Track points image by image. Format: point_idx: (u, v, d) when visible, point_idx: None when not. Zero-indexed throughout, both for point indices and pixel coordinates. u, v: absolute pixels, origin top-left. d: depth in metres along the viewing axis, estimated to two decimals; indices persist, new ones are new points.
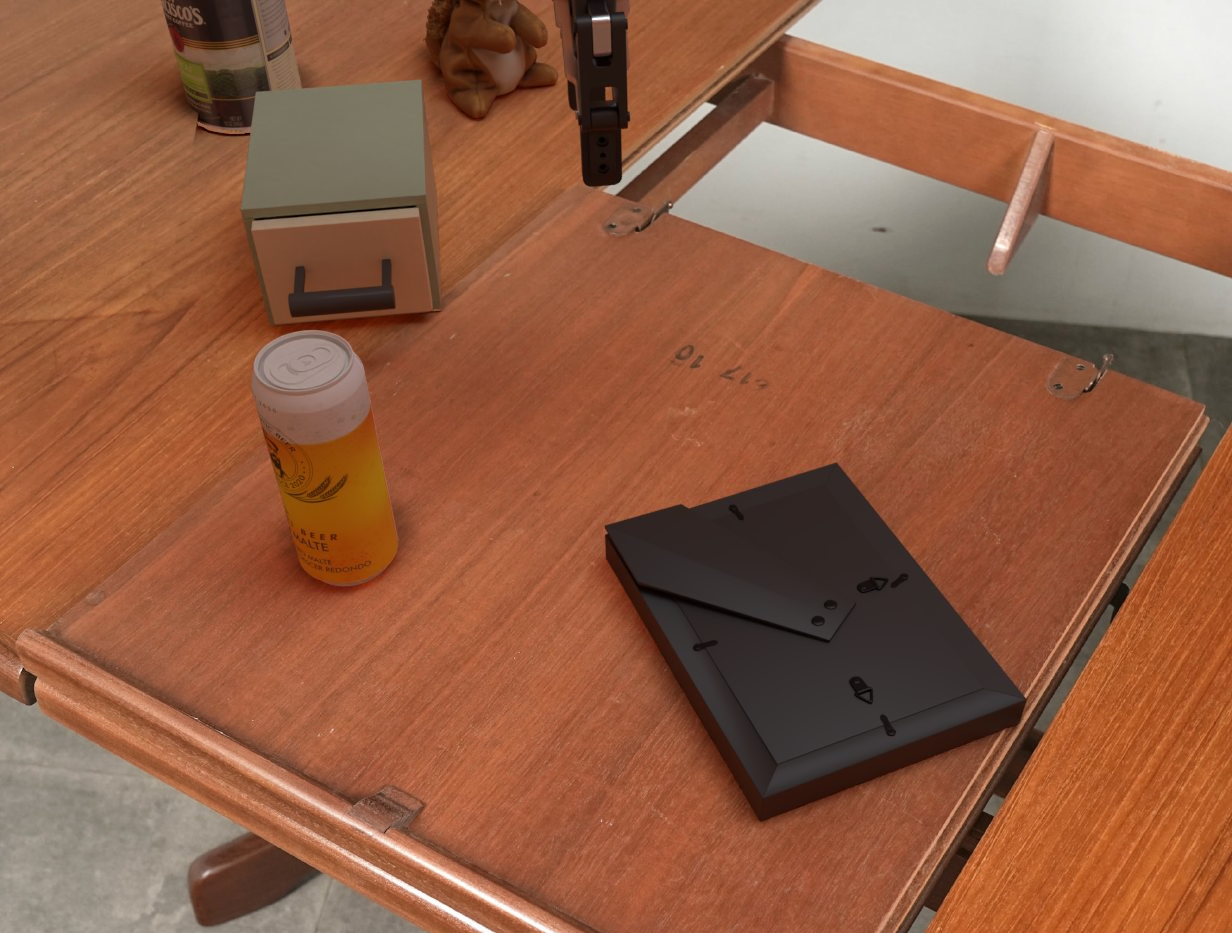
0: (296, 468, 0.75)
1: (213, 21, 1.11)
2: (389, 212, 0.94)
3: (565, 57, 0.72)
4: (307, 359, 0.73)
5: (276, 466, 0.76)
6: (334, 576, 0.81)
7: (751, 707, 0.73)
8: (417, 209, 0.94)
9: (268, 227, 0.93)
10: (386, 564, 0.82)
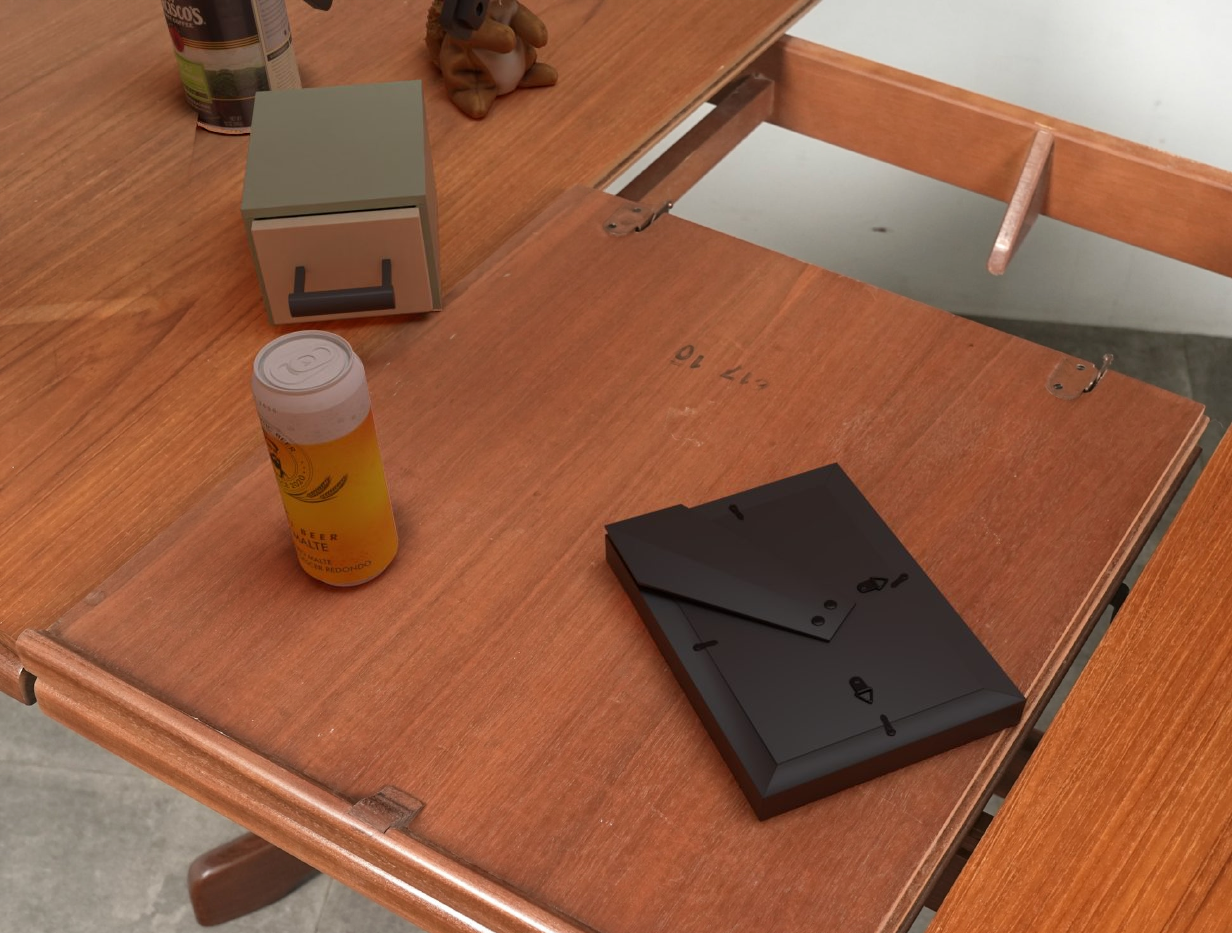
0: (296, 468, 0.75)
1: (213, 21, 1.11)
2: (389, 212, 0.94)
3: None
4: (307, 359, 0.73)
5: (276, 466, 0.76)
6: (334, 576, 0.81)
7: (751, 707, 0.73)
8: (417, 209, 0.94)
9: (268, 227, 0.93)
10: (386, 564, 0.82)
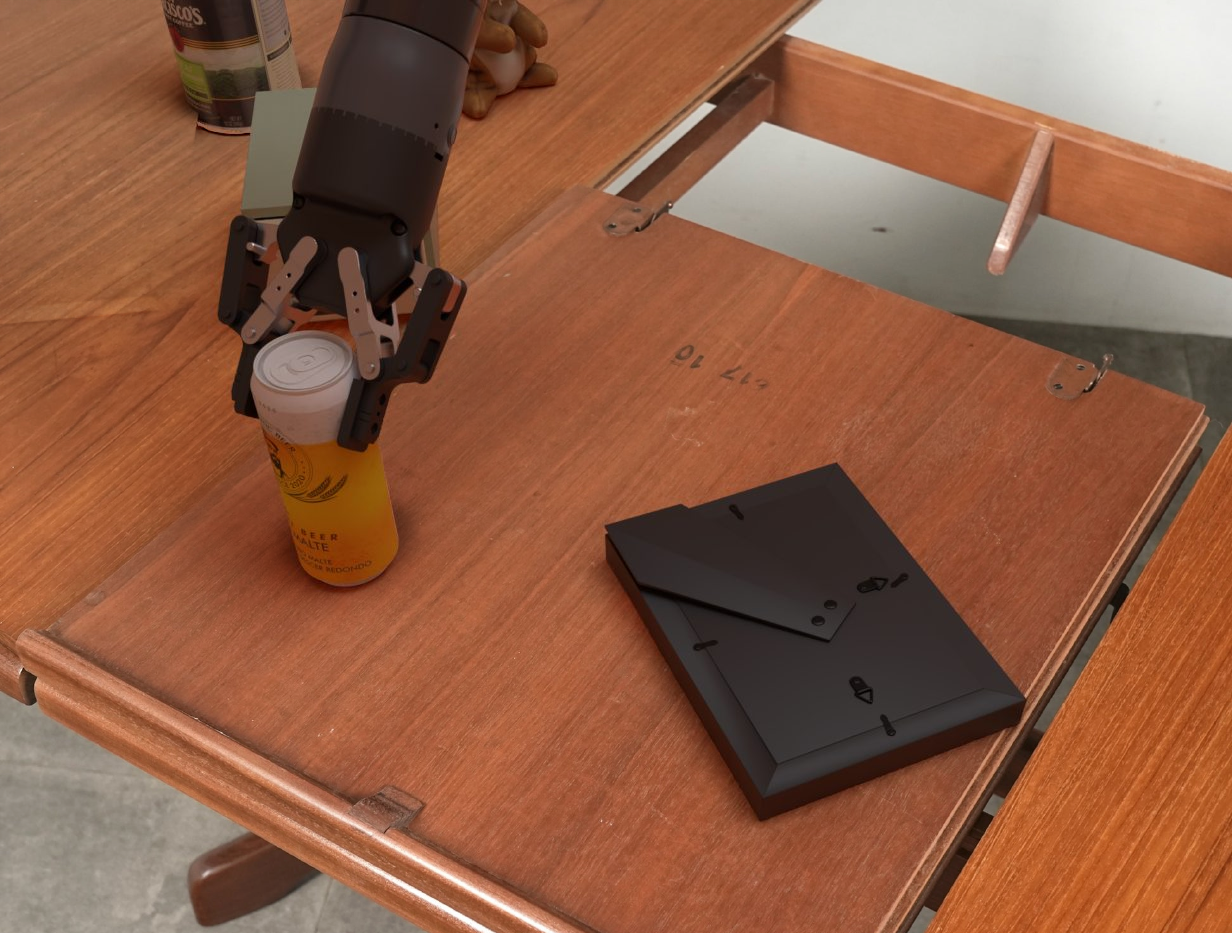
0: (296, 468, 0.75)
1: (213, 21, 1.11)
2: None
3: (367, 312, 0.71)
4: (307, 359, 0.73)
5: (276, 466, 0.76)
6: (334, 576, 0.81)
7: (751, 707, 0.73)
8: None
9: None
10: (386, 564, 0.82)
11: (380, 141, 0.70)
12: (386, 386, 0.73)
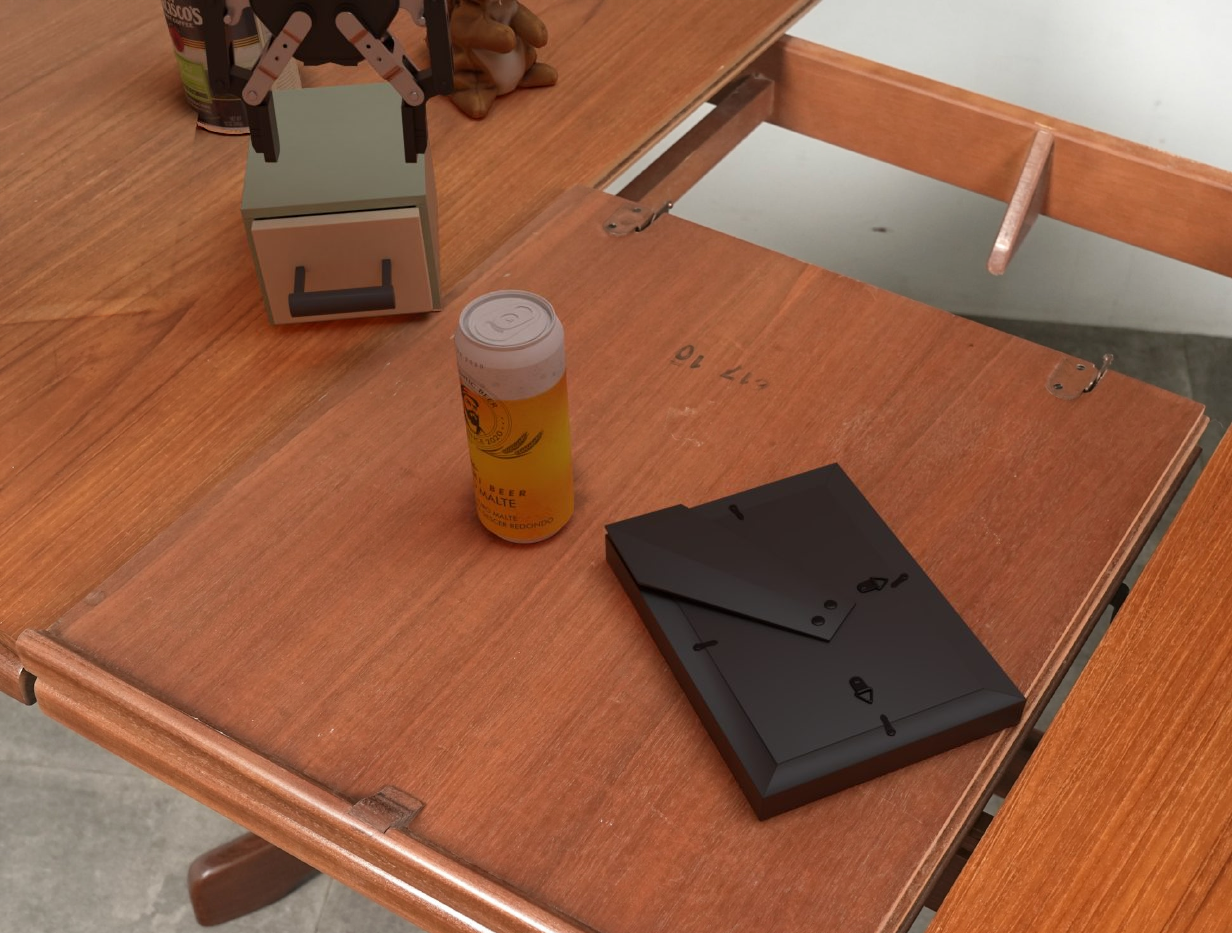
0: (495, 424, 0.77)
1: None
2: (389, 212, 0.94)
3: (389, 55, 0.79)
4: (511, 317, 0.75)
5: (473, 423, 0.78)
6: (517, 532, 0.83)
7: (751, 707, 0.73)
8: (417, 209, 0.94)
9: (268, 227, 0.93)
10: (565, 521, 0.84)
11: None
12: None
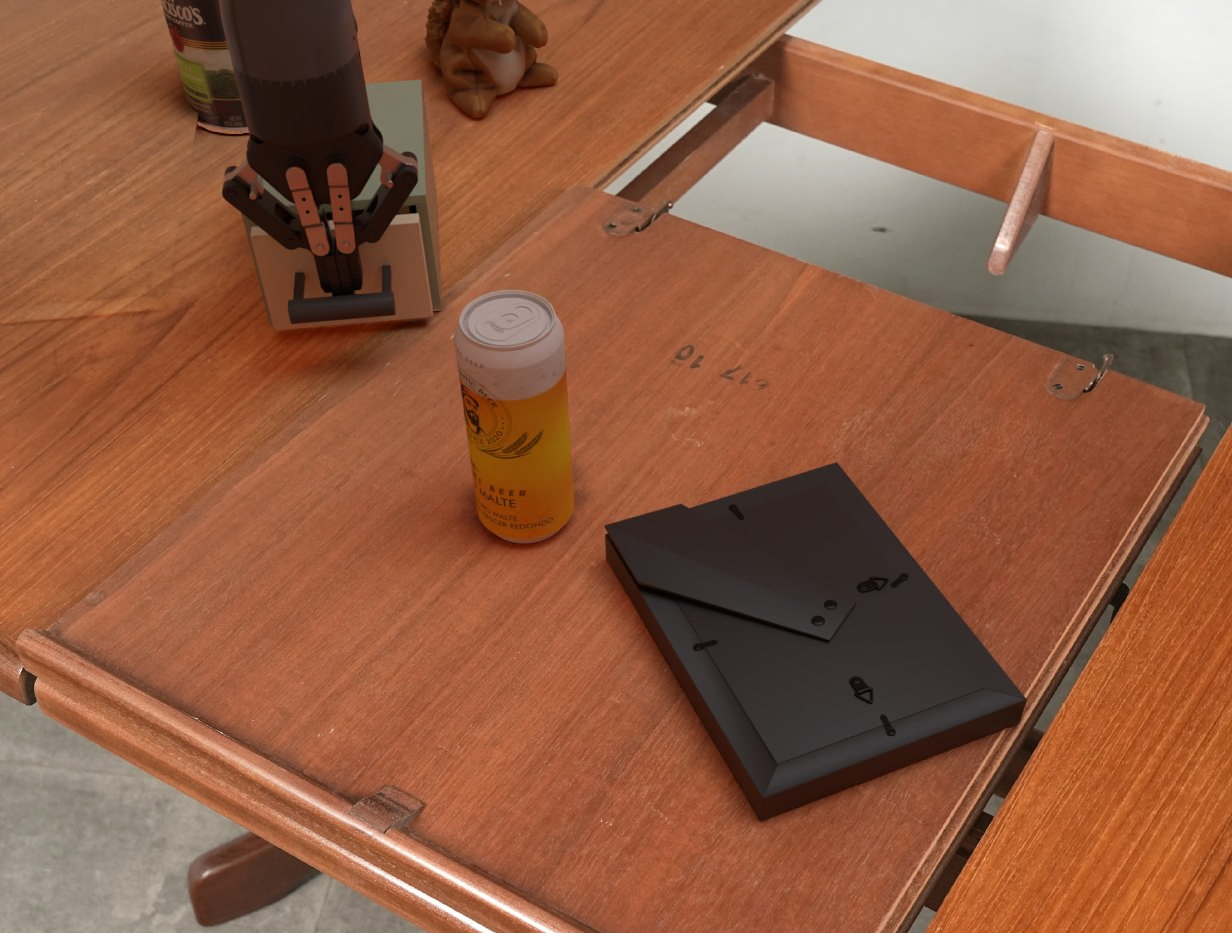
0: (495, 424, 0.77)
1: (213, 21, 1.11)
2: None
3: (350, 211, 0.88)
4: (511, 317, 0.75)
5: (473, 423, 0.78)
6: (517, 532, 0.83)
7: (751, 707, 0.73)
8: (417, 215, 0.94)
9: None
10: (565, 521, 0.84)
11: (331, 88, 0.80)
12: None
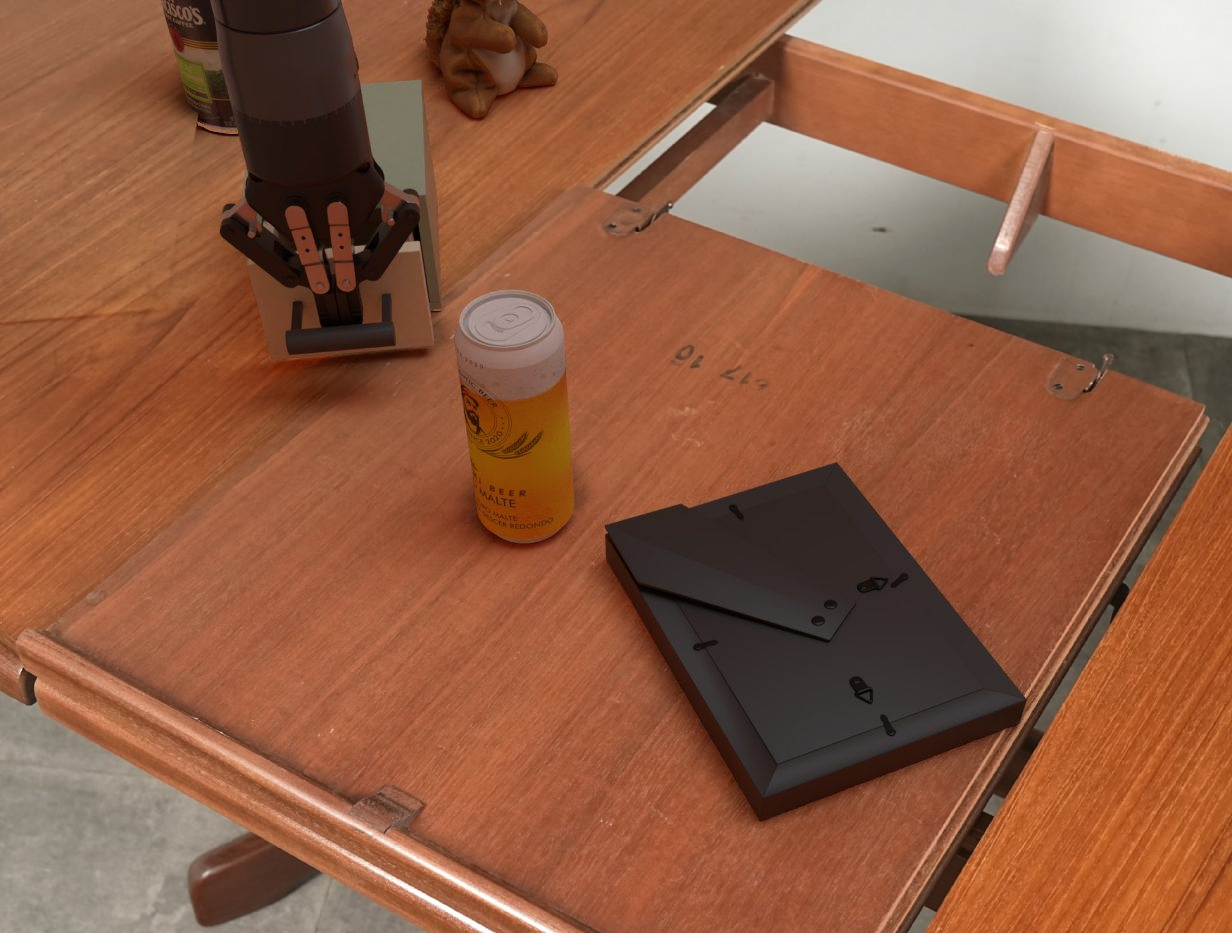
0: (495, 424, 0.77)
1: (213, 21, 1.11)
2: None
3: (351, 249, 0.86)
4: (511, 317, 0.75)
5: (473, 423, 0.78)
6: (517, 532, 0.83)
7: (751, 707, 0.73)
8: (418, 243, 0.91)
9: None
10: (565, 521, 0.84)
11: (332, 128, 0.78)
12: None
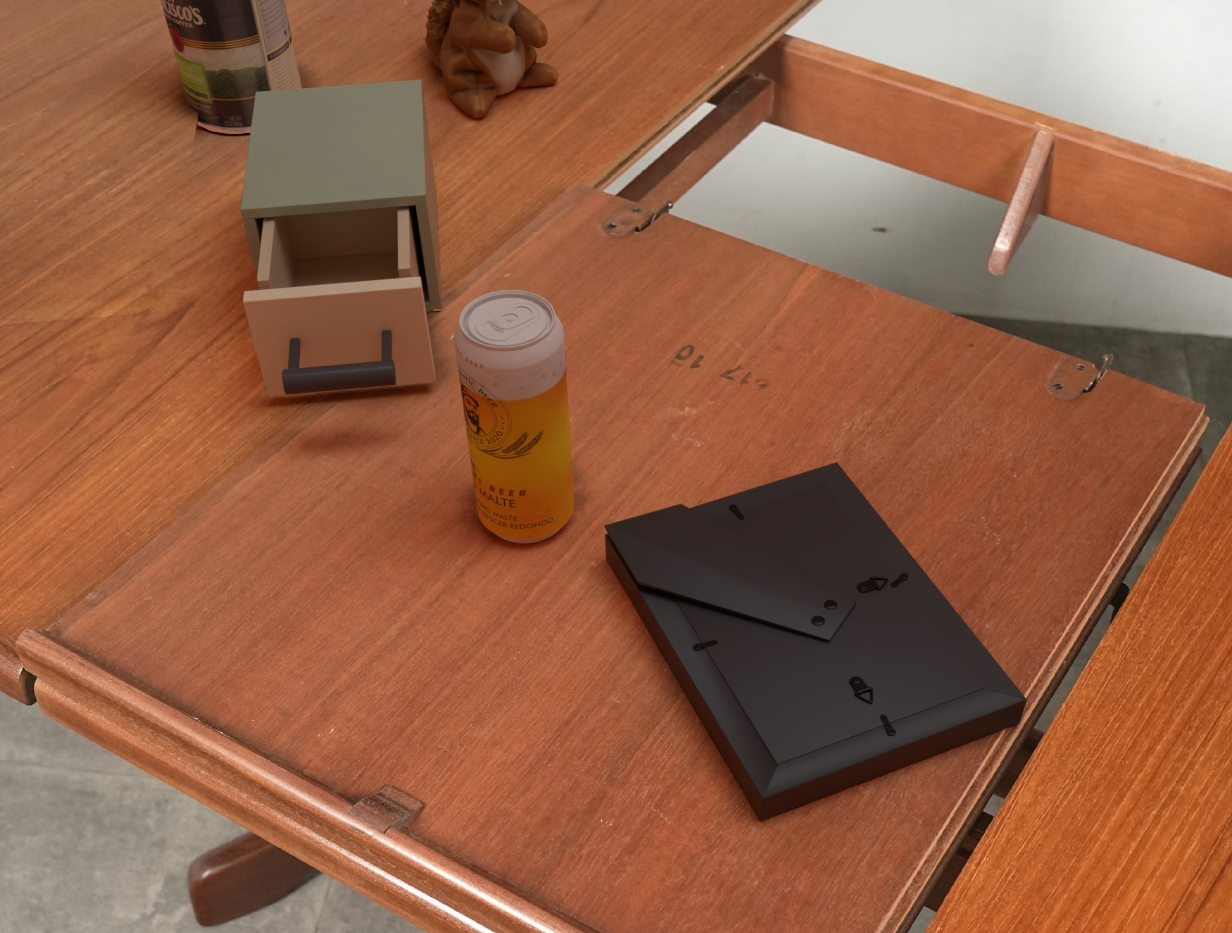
0: (495, 424, 0.77)
1: (213, 21, 1.11)
2: (390, 281, 0.89)
3: None
4: (511, 317, 0.75)
5: (473, 423, 0.78)
6: (517, 532, 0.83)
7: (751, 707, 0.73)
8: (419, 278, 0.89)
9: (260, 298, 0.88)
10: (565, 521, 0.84)
11: None
12: None
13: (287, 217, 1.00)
